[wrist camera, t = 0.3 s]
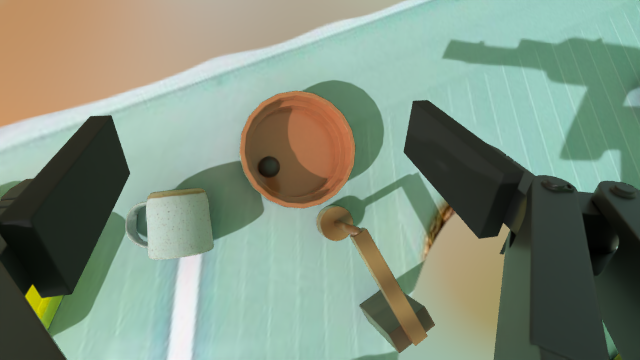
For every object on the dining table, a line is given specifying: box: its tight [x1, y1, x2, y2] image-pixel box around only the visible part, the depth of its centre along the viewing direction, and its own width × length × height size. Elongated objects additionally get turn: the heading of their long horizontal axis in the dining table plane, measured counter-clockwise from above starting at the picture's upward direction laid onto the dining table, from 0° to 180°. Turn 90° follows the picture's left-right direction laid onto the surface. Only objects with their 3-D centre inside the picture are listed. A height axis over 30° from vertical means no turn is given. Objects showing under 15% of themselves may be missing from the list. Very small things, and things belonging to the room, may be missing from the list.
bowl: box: [239, 91, 355, 208], centre depth 47 cm, size 15×15×6 cm
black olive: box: [258, 156, 280, 178], centre depth 47 cm, size 3×3×3 cm
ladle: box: [317, 205, 427, 346], centre depth 47 cm, size 18×5×12 cm, turn 31°
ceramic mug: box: [125, 188, 214, 260], centre depth 42 cm, size 11×8×8 cm
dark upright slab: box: [360, 290, 435, 353], centre depth 48 cm, size 3×6×10 cm, turn 121°
